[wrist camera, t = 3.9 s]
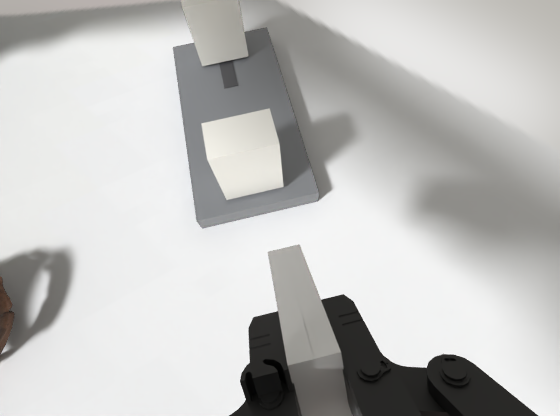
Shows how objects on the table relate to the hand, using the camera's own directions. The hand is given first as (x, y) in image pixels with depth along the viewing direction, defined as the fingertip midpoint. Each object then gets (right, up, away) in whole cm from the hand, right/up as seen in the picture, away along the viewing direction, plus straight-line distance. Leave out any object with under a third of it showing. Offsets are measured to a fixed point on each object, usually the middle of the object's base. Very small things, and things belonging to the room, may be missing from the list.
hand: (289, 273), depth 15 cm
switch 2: (-3, +6, +17) cm, 18 cm away
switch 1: (-7, +22, +24) cm, 33 cm away
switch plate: (-5, +14, +23) cm, 28 cm away
